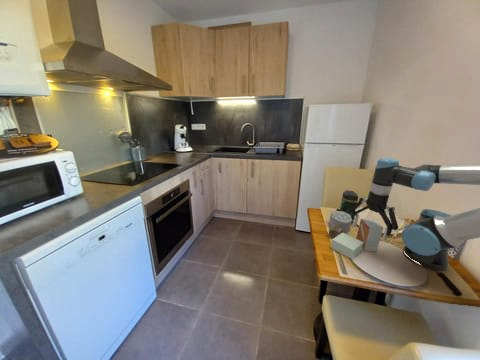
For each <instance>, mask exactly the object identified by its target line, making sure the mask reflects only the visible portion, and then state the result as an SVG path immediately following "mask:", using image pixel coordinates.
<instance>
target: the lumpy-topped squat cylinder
mask: <svg viewBox="0 0 480 360" xmlns="http://www.w3.org/2000/svg"><path fill="white" fill-rule="evenodd" d="M351 222H352V218H351V216H350V215H349V214H348V213H345V212H342V211H340V210H339V211H338V210H332V211H330V216H329V222H328V225H329V227H330V228H331V227H332V225H333V226H336V227H339V228H342V233H344V234H346V235H347V234H349V232H350V230H351V227H352V223H353V222H352V223H351ZM330 228H329V229H330Z"/></svg>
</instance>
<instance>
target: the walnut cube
mask: <svg viewBox="0 0 480 360" xmlns="http://www.w3.org/2000/svg"><path fill="white" fill-rule="evenodd" d="M341 233H342V228H339V227H336V226H333V225H332V227H331V228H329V229H328V236H327V237H328V238H330V239H331V240H332V239H334V238H335V237H337V236H338V235H340V234H341Z"/></svg>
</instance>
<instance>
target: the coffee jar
mask: <svg viewBox="0 0 480 360" xmlns="http://www.w3.org/2000/svg"><path fill="white" fill-rule="evenodd" d="M358 202H359V195H358V194H357V193H356V192H355V191H354V190H353V191H352V190H347V189H346V190H345V191H343V192H342V197H341V202H340V206H339V211H342V212H345V213H348V214H349V215H350V216H351V218H352V217H353V213H352V212H350V210H351V209H352V208H353V207H354V206H355V205H356V204H357V203H358ZM353 221H354V220H352V222H351V224H353Z"/></svg>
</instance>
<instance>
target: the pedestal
mask: <svg viewBox="0 0 480 360" xmlns="http://www.w3.org/2000/svg"><path fill="white" fill-rule="evenodd" d="M363 243H364V242H362V241H360V240H357V239H356V237H354V236H353V237H352V236H351V235H349V234H347V233H346V234H344V233H341V234H340V235H338V236H337V237H335V238H334V239H332V238H331V244H330V249H332V250H334V251H335V252H338V253H340V254H341V255H343V256H345V257H346V258H349V259H350V260H352V258H353V257H354V256H355V257H356V256H357V255H359V254H360V253H361V252H362V251H363V249H362V247H363ZM361 250H362V251H361ZM360 251H361V252H360ZM355 257H354V258H355ZM354 258H353V259H354Z"/></svg>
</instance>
